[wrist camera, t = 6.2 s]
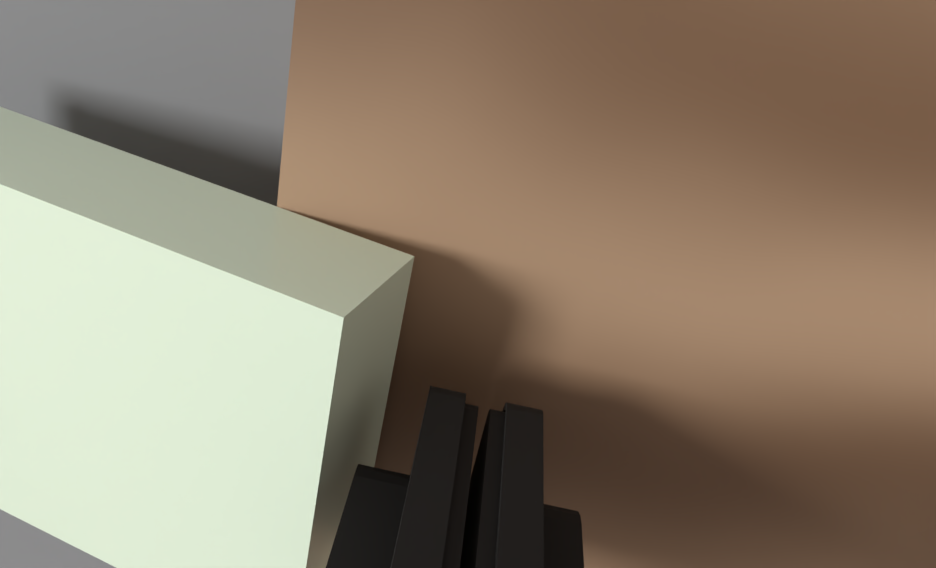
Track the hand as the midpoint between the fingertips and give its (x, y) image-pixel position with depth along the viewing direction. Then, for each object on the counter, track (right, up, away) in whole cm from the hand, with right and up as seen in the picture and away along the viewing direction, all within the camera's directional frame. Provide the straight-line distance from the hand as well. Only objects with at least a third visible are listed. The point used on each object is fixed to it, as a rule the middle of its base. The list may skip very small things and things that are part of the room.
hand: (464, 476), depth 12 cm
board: (+3, +2, +5) cm, 6 cm away
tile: (-5, +2, +2) cm, 6 cm away
